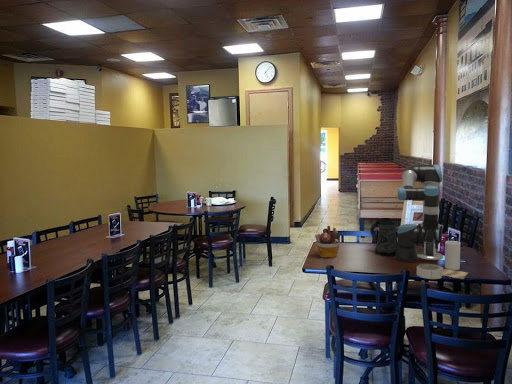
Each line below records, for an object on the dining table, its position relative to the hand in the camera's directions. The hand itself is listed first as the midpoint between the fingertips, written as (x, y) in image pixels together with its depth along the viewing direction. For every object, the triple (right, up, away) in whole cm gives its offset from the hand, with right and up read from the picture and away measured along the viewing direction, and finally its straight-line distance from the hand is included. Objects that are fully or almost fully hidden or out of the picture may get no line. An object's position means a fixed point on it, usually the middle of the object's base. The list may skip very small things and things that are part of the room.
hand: (430, 253), depth 232 cm
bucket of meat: (-50, -9, +49) cm, 70 cm away
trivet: (+14, -12, +2) cm, 19 cm away
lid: (0, -2, 0) cm, 2 cm away
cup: (+20, -11, +14) cm, 27 cm away
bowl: (0, -13, +1) cm, 13 cm away
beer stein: (-9, -8, +52) cm, 54 cm away
